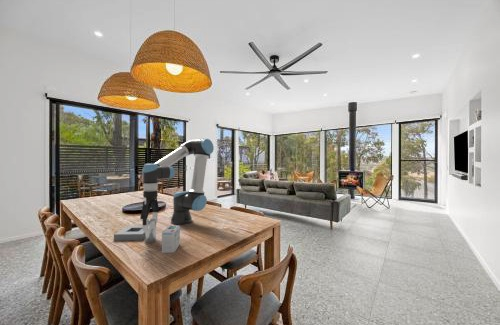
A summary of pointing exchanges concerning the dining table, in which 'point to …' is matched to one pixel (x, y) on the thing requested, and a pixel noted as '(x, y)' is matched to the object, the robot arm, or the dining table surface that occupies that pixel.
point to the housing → (130, 233)
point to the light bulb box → (170, 239)
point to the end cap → (151, 231)
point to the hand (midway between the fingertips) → (150, 226)
